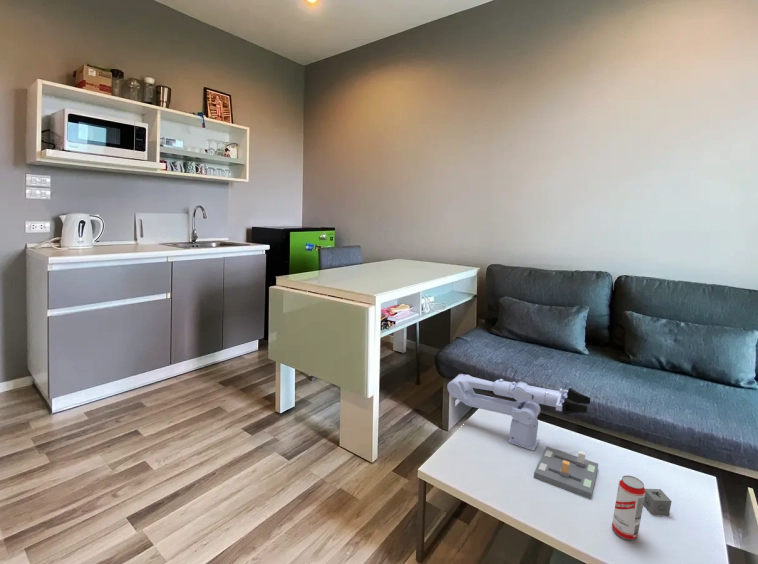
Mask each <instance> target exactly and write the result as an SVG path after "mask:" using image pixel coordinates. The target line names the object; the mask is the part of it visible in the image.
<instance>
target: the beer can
mask: <svg viewBox="0 0 758 564" xmlns="http://www.w3.org/2000/svg"><path fill="white" fill-rule="evenodd" d="M645 489H646V488H645V484H644V482H643V480H640V479H639V478H637V477H636V476H632V475H623V476H622V477H621V479H620V480H619V482H618V486H617V493H616V499H615V505H614V510H613V517H612V523H611V526H612V530H613V531H614V533H616V534H617V536H619V538H622V539H624V540H628V541H630V540H632V541H633V540H636V539H637V538H638V537H639V532H640V526H641V519H642V514H643V508H644V505H643V504H644V498H645Z"/></svg>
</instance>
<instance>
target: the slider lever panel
mask: <svg viewBox="0 0 758 564" xmlns="http://www.w3.org/2000/svg"><path fill="white" fill-rule="evenodd" d="M577 458H578V455H574V454H570V453H567V452H565V451H561V450H559V449H556V448H554V447H550V446H547V445H546V446H545V448H544V451H543V453H542V455H541V457H540V459H539V461H538V463H537V466H536V467H535V470H534V472H533V478H534V479H537V480H539V481H542V482H545V483H547V484H550V485H551V486H554V487H555V486H556V487H557V488H560V489H563V490H565V491H568V492H571V493H574V494H577V495H579V496H581V497H583V498H586V499H590V500H592V496H593V495H592V494H593V492H594V491H593V490H594V486H595V481H596V477H597V473H598V469H599V463H598V462H596V461H595V462H594V461H591V460H588V459H586V458H585V461H586V464H585V468H584V467H581V466H578V465H576V460H577ZM563 460H565V461H568V462H570V466H569V471H570V475H569V478H568V477H565V476H562V475H559V473H560V469H561V468H562V462H563Z"/></svg>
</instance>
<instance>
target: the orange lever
mask: <svg viewBox="0 0 758 564" xmlns="http://www.w3.org/2000/svg"><path fill="white" fill-rule="evenodd" d="M569 466H570V462H568V461H565V460H563V462H562V468H561V469H560V473H559V475H562V476H565V477H568V478H569V475H570V471H569Z"/></svg>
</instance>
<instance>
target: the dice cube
mask: <svg viewBox="0 0 758 564" xmlns="http://www.w3.org/2000/svg"><path fill="white" fill-rule="evenodd" d="M644 489H645V498H644V504H643V508H645V509H646V510H647V511H648V513H649V514H650V515H651V516H661V517H663V516H665V517H666V516H667V517H669V516H670V511H671V507H672V500H671V498H669V496H668V495H666V494H665V492H664V491H663V490H662V489H660V488H644Z"/></svg>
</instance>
